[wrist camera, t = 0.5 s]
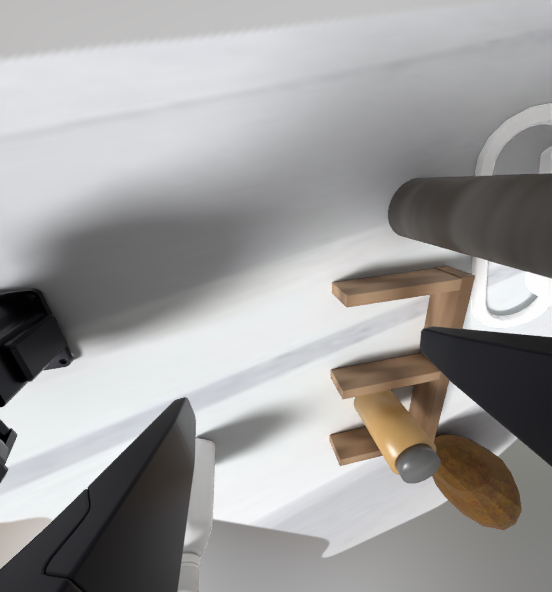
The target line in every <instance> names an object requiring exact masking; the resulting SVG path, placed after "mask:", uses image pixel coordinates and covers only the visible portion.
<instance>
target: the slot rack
mask: <svg viewBox="0 0 552 592" xmlns="http://www.w3.org/2000/svg"><path fill="white" fill-rule="evenodd" d="M474 279H475V276H474V275H472V274H469V273H466V272H463V271H460V270H458V269H455V268H452V267H449V266H441V267H435V268H434V269H427V270H419V271H412V272H405V273H398V274H390V275H383V276H376V277H369V278H361V279H354V280H347V281H340V282H332V294H334V295H335V296H336V297H337V298H338V299H339V300H340V301H341V302H342V303H343V304H344V305H345V306H346V307H353V306H359V305H366V304H372V303H379V302H385V301H392V300H398V299H405V298H412V297H418V296H425V295H430V300H429V305H428V311H427V316H426V322H425V327H424V328H427V327H431V326H436V327H446V328H457V329H462V327H463V323H464V319H465V315H466V311H467V307H468V303H469V299H470V295H471V291H472V287H473V283H474ZM331 379H332V381H333V383H334V384H335V386H336V388H337V390H338V392H339V393H340V395H341V397H342V399H346V398H351V397H356V396H361V395H366V394H371V393H376V392H381V391H385V390H390V389H395V388H400V387H405V386H410V385H414V388H413V393H412V399H411V404H410V410H409V413H410V415H411V416H412V417H413V418H414V420H415V421H416V422H417V423H418V424H419V426H420V427H421V428H422V429H423V431H424V432H425V433H426V434H427V435H428V437H429V438H430V439H431V440H432V442H433V443H434V439H435V435H436V431H437V427H438V423H439V419H440V415H441V411H442V407H443V403H444V399H445V395H446V391H447V387H448V383H449V379H448V378H447V377H446V376H445V375H444V374H443V373H442V372H441V371H440V370H439V369H438V368H437V367H436V366H435V365H434V364H433V363H432V362H431V361H430V360H429V359H428V358H427V357H426V356H425V355H424V354H423V353H422V351H421V349H420V353H418V354H413V355H408V356H402V357H397V358H392V359H386V360H381V361H376V362H370V363H365V364H360V365H354V366H349V367H344V368H338V369H333V370H331ZM330 443H331V446H332V448H333V450H334V453H335V455H336V458H337V460H338V462H339V465H340V466H342V465H346V464H350V463H354V462H358V461H363V460H367V459H371V458H375V457H379V456H383V455H382V453H381V451H380V449H379V448H378V446H377V444H376V443H375V441H374V439H373V438H372V436H371V434H370V433H369V431H368V429H367V428H366V427H364V428H360V429H355V430H351V431H346V432H342V433H337V434H333V435H330Z"/></svg>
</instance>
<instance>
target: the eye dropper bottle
mask: <svg viewBox="0 0 552 592" xmlns="http://www.w3.org/2000/svg"><path fill="white" fill-rule="evenodd" d="M214 469H215V444H214V442H212V441H209V440H205V439H200V438H196V439H195V465H194V473H193V481H192V488H191V496H190V503H189V510H188V518H187V525H186V533H185V540H184V547H183V555H182V562H181V569H180V577H179V584H178V592H198V591H199V574H200V556H201V555H202V553H203V552H204V550H205V548H206V546H207V543H208V541H209V538H210V534H211V530H212V521H213V499H214Z"/></svg>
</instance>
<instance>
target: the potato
mask: <svg viewBox="0 0 552 592" xmlns="http://www.w3.org/2000/svg"><path fill="white" fill-rule="evenodd" d="M434 444H435V446H436V454H437V455H438V456H439V458H440V460H441V463H440V466H439V468H438V470H437V471H436V472H435V473H434V474H433V475H432V476H433V479H434V481H435V483H436V485H437V487H438V488H439V489H440V491H441V492H442V493H443V495H444V496H445V497H446V498H447V499H448V500H449V501H450V502H451V503H452V504H453V505H454V506H455V507H456V508H457V509H458V510H459V511H460V512H462V513H463V514H464V515H466V516H468V517H469V518H471V519H472V520H474V521H476V522H477V523H479V524H481V525H482V526H486V527H491V528H496V529H501V530H505V529H507V528H508V527H510V526H512V525H514V524H515V523H516V521H517V519H518V517H519V515H520V513H521V503H520V495H519V491H518V488H517V486H516V484H515V481H514V479H513V476H512V474H511V472H510V471H509V469H508V468H507V467H506V465H505V464H504V462H503V461H502V460H501V459H500V458H499V457H497V456H496V455H495V454H493V453H492V452H490V451H489V450H487V449H486V448H484V447H482V446H481V445H479V444H477V443H476V442H474V441H472V440H470V439H467V438H464V437H461V436H457V435H440V436H437V437H435V439H434Z"/></svg>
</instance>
